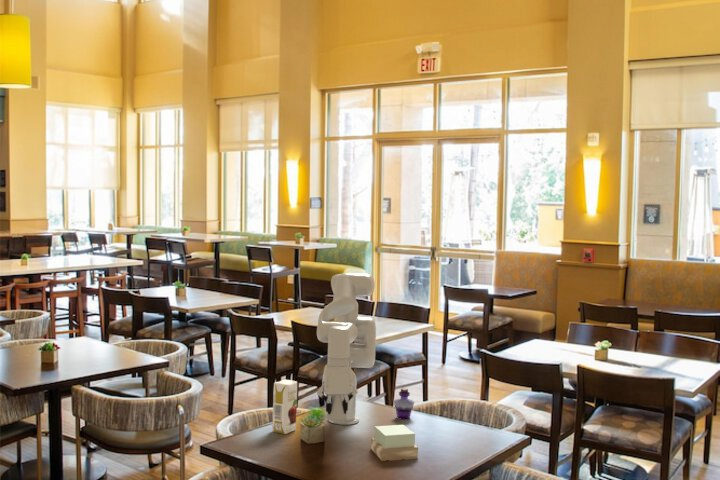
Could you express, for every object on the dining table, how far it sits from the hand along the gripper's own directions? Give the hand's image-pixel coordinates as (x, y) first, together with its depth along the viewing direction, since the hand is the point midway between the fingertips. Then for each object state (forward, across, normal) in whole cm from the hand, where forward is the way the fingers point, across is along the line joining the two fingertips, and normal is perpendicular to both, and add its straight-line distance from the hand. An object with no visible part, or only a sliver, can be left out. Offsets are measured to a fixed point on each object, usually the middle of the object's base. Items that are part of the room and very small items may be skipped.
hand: (336, 412), depth 256 cm
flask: (+2, 0, 0) cm, 2 cm away
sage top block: (+11, -21, +3) cm, 23 cm away
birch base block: (+15, -21, +3) cm, 26 cm away
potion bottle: (+16, -39, -40) cm, 58 cm away
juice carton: (+15, +13, -29) cm, 35 cm away
